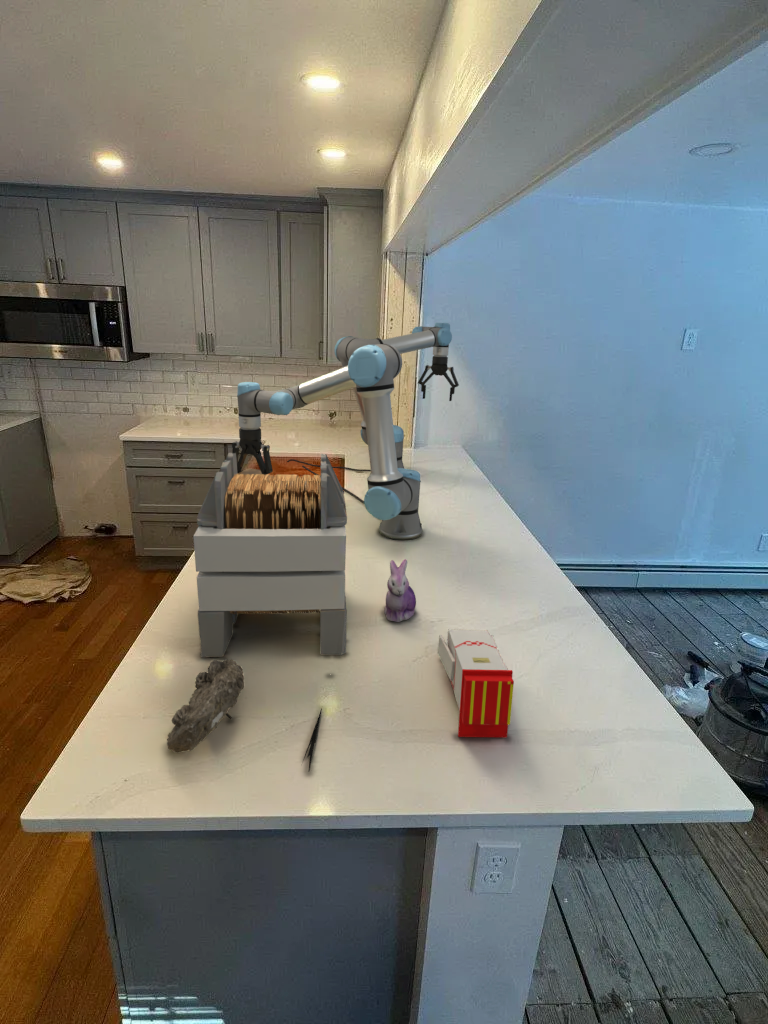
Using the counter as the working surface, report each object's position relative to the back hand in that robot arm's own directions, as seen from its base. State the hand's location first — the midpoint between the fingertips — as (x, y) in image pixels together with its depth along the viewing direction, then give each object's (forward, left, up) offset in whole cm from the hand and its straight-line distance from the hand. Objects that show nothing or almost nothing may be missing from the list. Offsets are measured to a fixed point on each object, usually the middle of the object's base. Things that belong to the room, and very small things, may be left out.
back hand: (437, 399), depth 285 cm
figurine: (+71, -142, -32) cm, 162 cm away
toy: (+99, -160, -32) cm, 191 cm away
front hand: (-10, -117, -22) cm, 119 cm away
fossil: (+63, -197, -32) cm, 209 cm away
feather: (+80, -185, -32) cm, 204 cm away
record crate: (+48, -163, -32) cm, 173 cm away
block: (-10, -117, -23) cm, 119 cm away
